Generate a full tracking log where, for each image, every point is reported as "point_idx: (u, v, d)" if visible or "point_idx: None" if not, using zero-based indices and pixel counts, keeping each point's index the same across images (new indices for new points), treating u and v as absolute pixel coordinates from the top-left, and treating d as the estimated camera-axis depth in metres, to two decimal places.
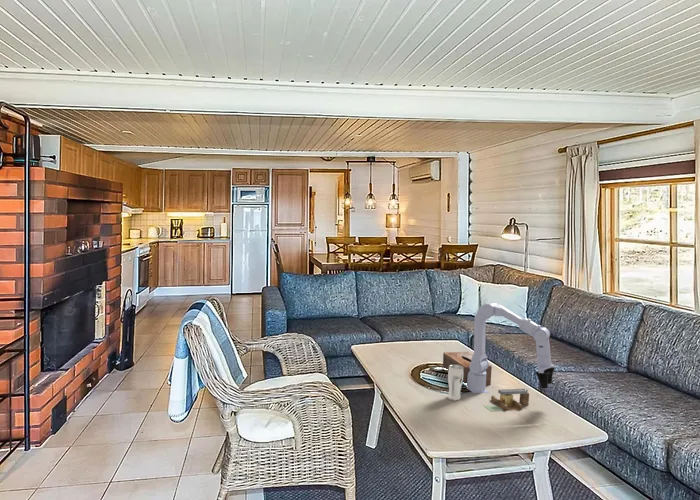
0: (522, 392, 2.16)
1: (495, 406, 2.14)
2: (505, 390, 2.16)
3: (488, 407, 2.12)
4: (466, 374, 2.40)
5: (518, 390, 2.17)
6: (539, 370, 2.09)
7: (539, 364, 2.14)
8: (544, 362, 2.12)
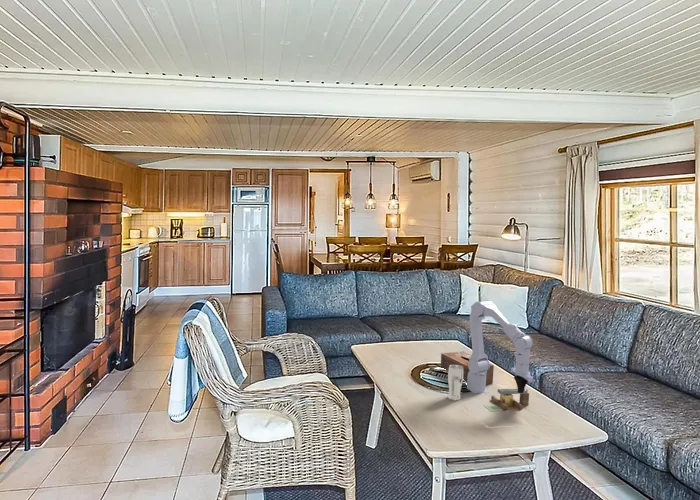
0: None
1: (495, 406, 2.14)
2: (504, 390, 2.17)
3: (488, 407, 2.12)
4: None
5: None
6: (530, 379, 2.09)
7: (521, 372, 2.13)
8: (526, 370, 2.13)
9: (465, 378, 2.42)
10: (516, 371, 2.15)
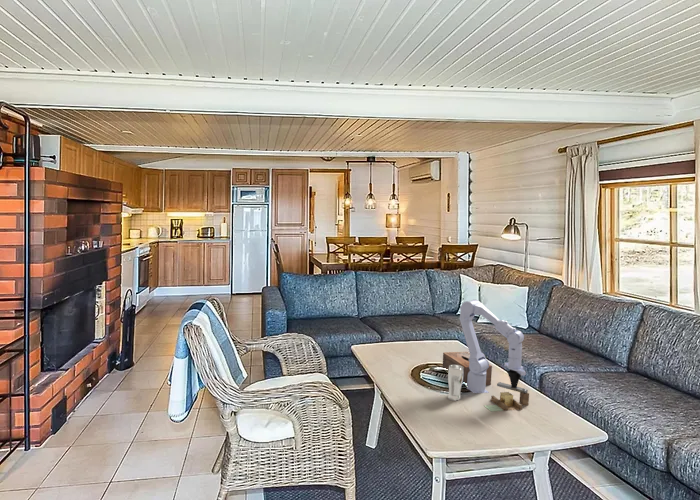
0: (518, 390, 2.19)
1: (495, 406, 2.14)
2: (504, 384, 2.25)
3: (488, 407, 2.12)
4: (467, 374, 2.40)
5: (516, 388, 2.20)
6: (522, 373, 2.15)
7: (514, 367, 2.19)
8: (519, 364, 2.19)
9: None
10: (509, 365, 2.21)
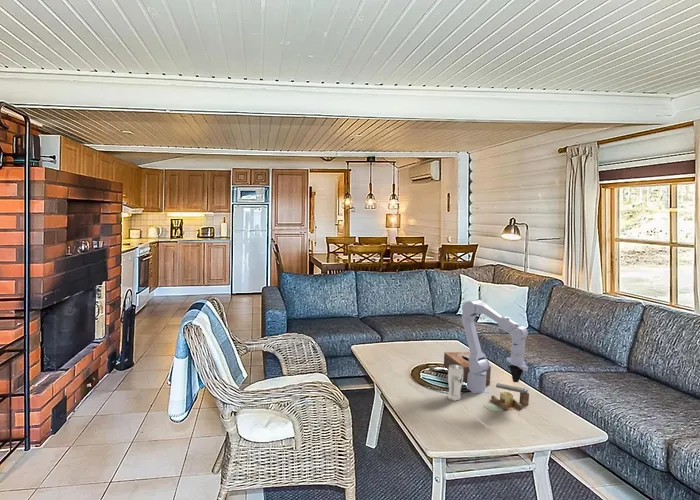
0: (519, 391, 2.18)
1: (495, 406, 2.14)
2: (503, 385, 2.23)
3: (488, 407, 2.12)
4: (465, 374, 2.40)
5: (516, 388, 2.20)
6: (525, 369, 2.13)
7: (516, 362, 2.17)
8: (521, 360, 2.17)
9: None
10: (511, 361, 2.19)
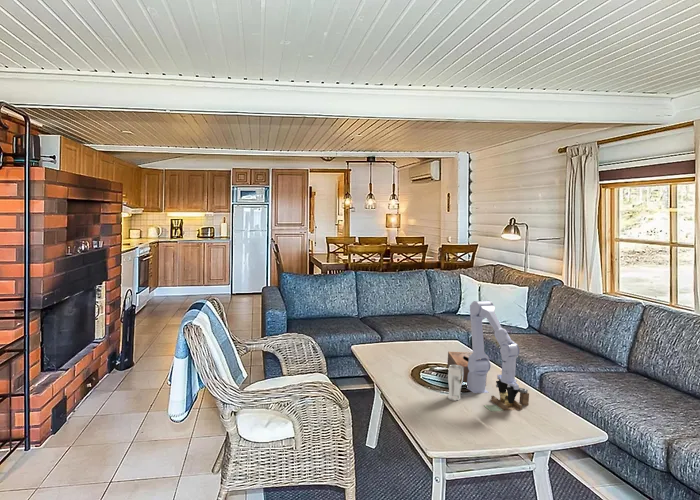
0: None
1: (495, 406, 2.14)
2: None
3: (488, 407, 2.12)
4: None
5: None
6: (515, 387, 2.09)
7: (507, 380, 2.13)
8: (512, 378, 2.13)
9: None
10: (502, 378, 2.15)
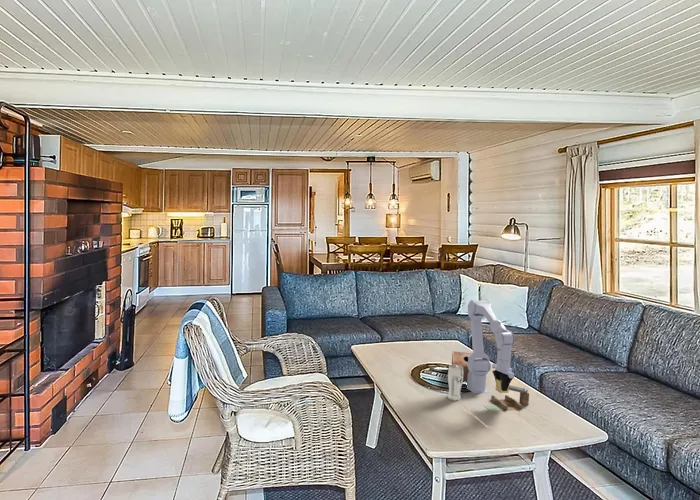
0: (519, 390, 2.18)
1: (495, 406, 2.14)
2: None
3: (488, 407, 2.12)
4: None
5: (516, 388, 2.20)
6: (511, 375, 2.06)
7: (502, 368, 2.11)
8: (508, 366, 2.11)
9: None
10: (497, 367, 2.13)
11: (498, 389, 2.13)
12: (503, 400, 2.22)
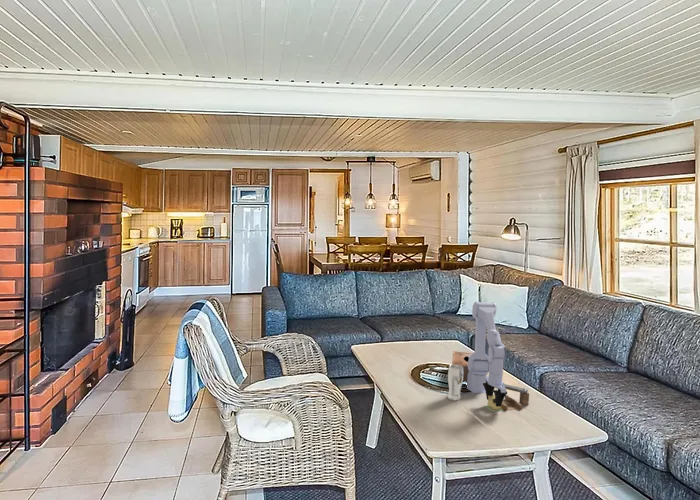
0: (519, 390, 2.18)
1: None
2: (503, 384, 2.24)
3: (488, 407, 2.12)
4: None
5: (516, 388, 2.20)
6: (502, 390, 2.04)
7: (494, 382, 2.09)
8: (499, 380, 2.09)
9: None
10: (489, 381, 2.10)
11: (490, 406, 2.11)
12: (503, 400, 2.22)
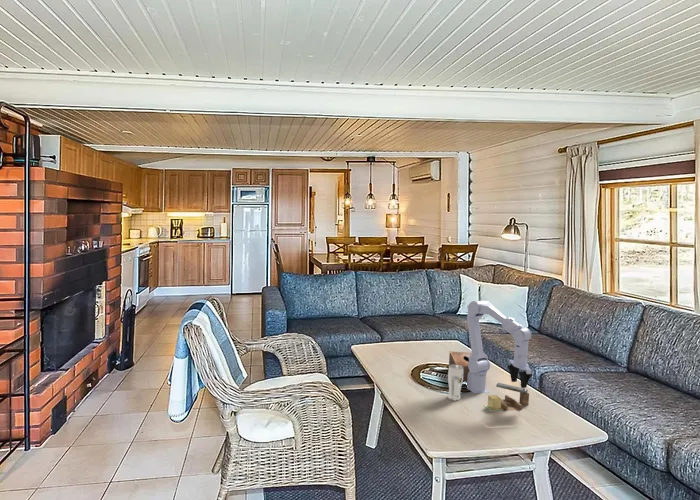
0: (519, 390, 2.18)
1: None
2: (503, 384, 2.24)
3: (488, 407, 2.12)
4: None
5: (516, 388, 2.20)
6: (528, 371, 2.09)
7: (519, 364, 2.13)
8: (525, 362, 2.13)
9: None
10: (514, 363, 2.15)
11: (490, 406, 2.11)
12: (503, 400, 2.22)
